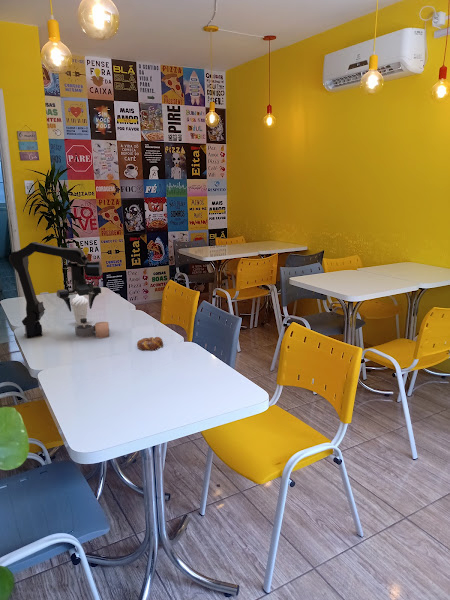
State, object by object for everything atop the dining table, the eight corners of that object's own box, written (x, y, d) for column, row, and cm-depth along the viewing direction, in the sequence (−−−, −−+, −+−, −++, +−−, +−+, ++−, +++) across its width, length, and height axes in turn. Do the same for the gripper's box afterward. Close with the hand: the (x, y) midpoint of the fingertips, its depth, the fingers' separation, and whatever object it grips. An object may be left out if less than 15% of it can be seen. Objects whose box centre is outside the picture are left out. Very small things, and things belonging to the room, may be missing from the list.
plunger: (80, 335, 204) (79, 321, 203) (76, 332, 209) (75, 318, 207) (92, 333, 208) (91, 319, 206) (88, 330, 212) (87, 316, 210)
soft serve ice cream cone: (86, 326, 221) (84, 294, 217) (70, 326, 221) (67, 294, 217) (92, 321, 229) (89, 291, 225) (75, 321, 229) (73, 291, 225)
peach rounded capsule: (98, 338, 202) (97, 326, 201) (94, 335, 207) (93, 323, 205) (111, 336, 205) (110, 324, 204) (106, 333, 210) (105, 320, 209)
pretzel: (152, 340, 200) (152, 333, 199) (169, 346, 194) (169, 337, 193) (131, 347, 191) (131, 339, 190) (148, 353, 185) (148, 344, 184)
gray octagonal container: (79, 337, 203) (78, 330, 202) (74, 333, 209) (73, 326, 208) (99, 334, 209) (99, 326, 208) (94, 330, 215) (93, 322, 214)
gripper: (61, 281, 190) (64, 317, 194) (104, 277, 200) (106, 310, 204) (54, 277, 199) (57, 311, 202) (96, 273, 209) (98, 305, 213)
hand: (80, 310), depth 205 cm, fingers open, 9 cm apart
